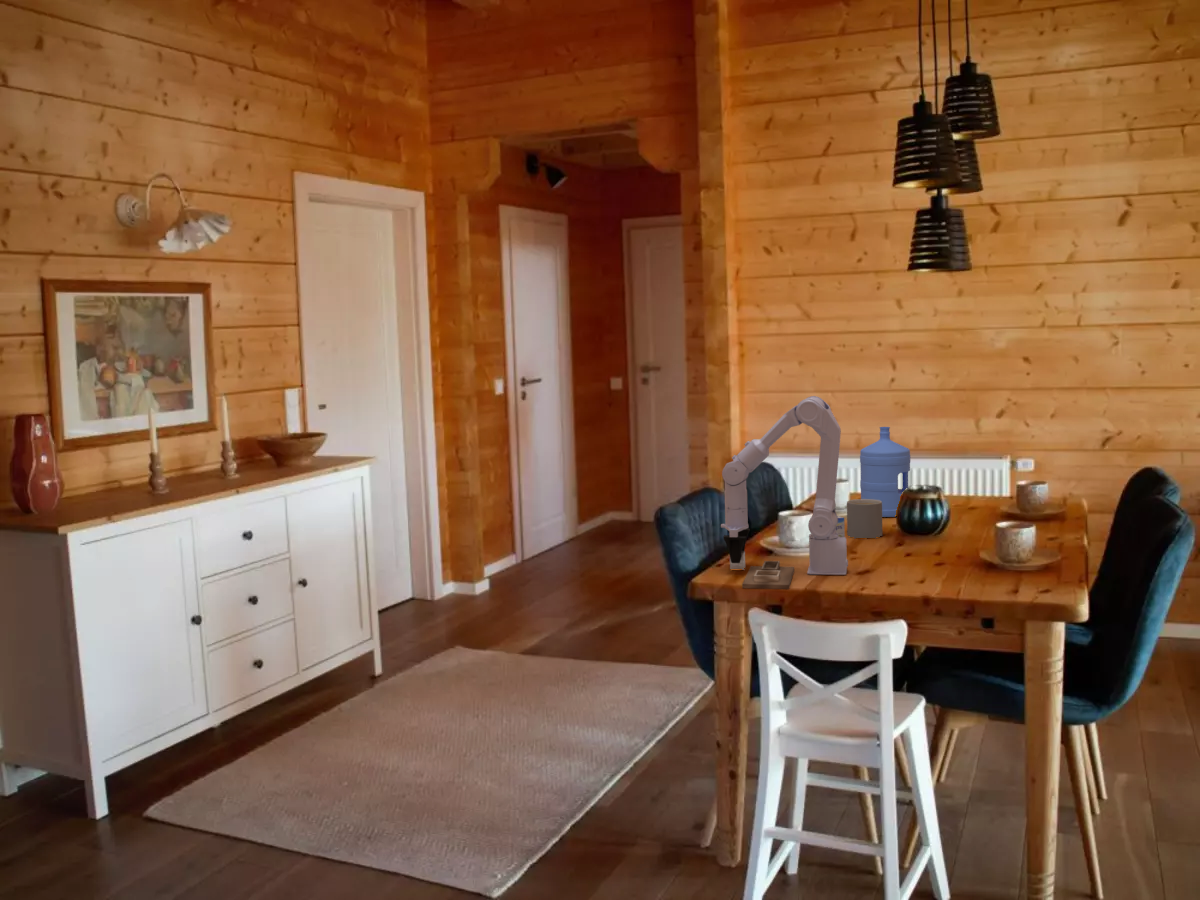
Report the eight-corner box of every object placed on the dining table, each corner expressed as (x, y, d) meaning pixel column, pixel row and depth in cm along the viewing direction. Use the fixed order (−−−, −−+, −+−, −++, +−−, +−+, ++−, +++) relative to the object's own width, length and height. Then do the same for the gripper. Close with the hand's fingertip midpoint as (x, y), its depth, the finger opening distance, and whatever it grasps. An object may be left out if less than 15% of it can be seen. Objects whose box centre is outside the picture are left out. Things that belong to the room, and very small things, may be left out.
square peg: (745, 567, 295) (744, 550, 295) (743, 570, 292) (743, 553, 291) (731, 567, 296) (731, 550, 296) (730, 570, 293) (729, 553, 292)
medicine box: (819, 550, 313) (818, 519, 312) (811, 548, 317) (811, 517, 316) (845, 548, 315) (844, 517, 314) (837, 545, 319) (837, 514, 318)
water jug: (865, 519, 358) (864, 430, 355) (856, 510, 373) (855, 425, 370) (916, 517, 357) (915, 428, 354) (904, 509, 373) (903, 424, 370)
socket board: (794, 570, 290) (794, 560, 289) (788, 589, 270) (788, 578, 270) (750, 569, 292) (750, 560, 292) (742, 588, 273) (742, 577, 273)
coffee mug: (879, 539, 325) (878, 505, 324) (844, 538, 329) (843, 504, 328) (887, 531, 337) (886, 497, 336) (853, 529, 341) (852, 496, 340)
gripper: (724, 503, 300) (725, 553, 302) (716, 512, 286) (718, 565, 288) (751, 503, 298) (752, 554, 300) (745, 512, 284) (746, 565, 286)
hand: (737, 559), depth 294 cm, fingers open, 7 cm apart
